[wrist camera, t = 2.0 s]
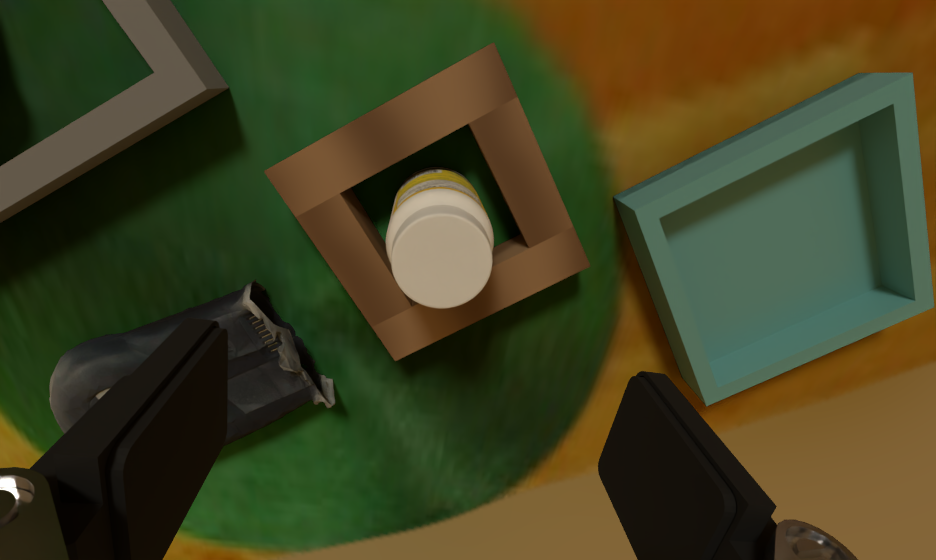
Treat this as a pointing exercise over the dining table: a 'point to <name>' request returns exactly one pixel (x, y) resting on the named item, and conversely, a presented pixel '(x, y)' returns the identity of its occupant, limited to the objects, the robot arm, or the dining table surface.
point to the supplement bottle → (439, 239)
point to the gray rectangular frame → (119, 106)
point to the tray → (787, 236)
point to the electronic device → (249, 364)
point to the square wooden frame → (394, 138)
